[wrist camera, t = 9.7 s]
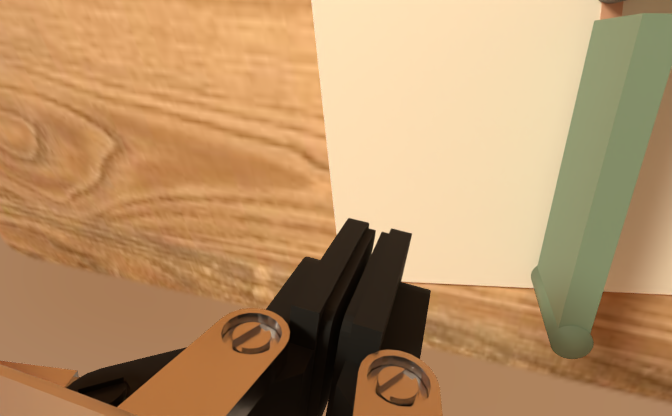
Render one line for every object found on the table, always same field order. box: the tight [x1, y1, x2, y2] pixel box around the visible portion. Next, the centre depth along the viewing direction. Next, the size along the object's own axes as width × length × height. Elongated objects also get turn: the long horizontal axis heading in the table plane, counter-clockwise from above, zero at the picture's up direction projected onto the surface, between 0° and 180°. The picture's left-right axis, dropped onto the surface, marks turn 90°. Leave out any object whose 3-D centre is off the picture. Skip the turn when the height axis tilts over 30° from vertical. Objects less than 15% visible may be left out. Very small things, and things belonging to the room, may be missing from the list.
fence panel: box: [531, 13, 672, 359], centre depth 18 cm, size 13×2×6 cm, turn 178°
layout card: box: [311, 0, 672, 295], centre depth 20 cm, size 27×20×1 cm
